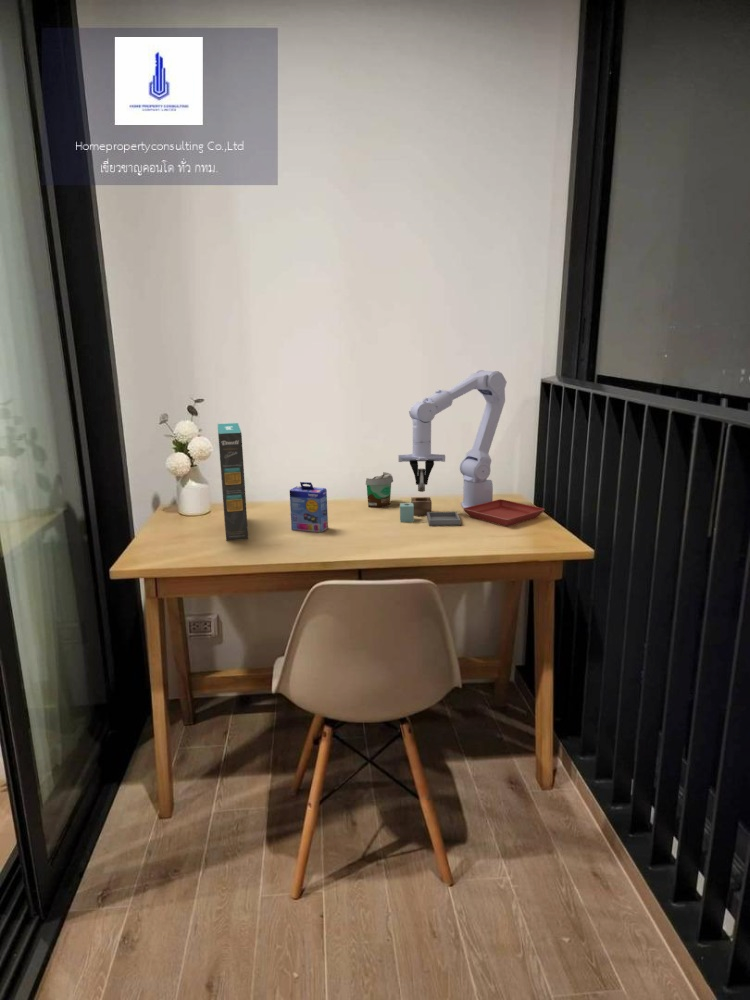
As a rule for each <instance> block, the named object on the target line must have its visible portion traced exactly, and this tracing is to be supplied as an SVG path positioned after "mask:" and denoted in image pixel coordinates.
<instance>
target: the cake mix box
mask: <svg viewBox="0 0 750 1000" xmlns="http://www.w3.org/2000/svg"><path fill="white" fill-rule="evenodd" d="M242 435H243V434H242V430H241V428H240V425H239V423H238V422H236V423H235V422H233V423H230V422H229V423H217V436H218V438H217V439H218V450H219V461H220V462H219V463H220V477H221V491H222V507H223V517H224V519H223V520H224V528H225V529H224V530H225V541H227V542H228V541H239V540H248V539H249V529H248V517H247V516H248V515H247V513H248V512H247V499H246V486H245V485H246V484H245V483H246V482H245V469H244V468H245V467H244V454H243V453H244V452H243V451H244V449H243V438H242V437H243V436H242Z"/></svg>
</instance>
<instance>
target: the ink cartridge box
mask: <svg viewBox="0 0 750 1000" xmlns="http://www.w3.org/2000/svg"><path fill="white" fill-rule="evenodd" d="M299 483H300V486H295V487H293V488H291V489H289V505H290V506H289V507H290V525H291V526H290V527H291V530H292V531H302V532H303V531H304V532H312V533H322V532H324V531H325V530H327V529H328V528H329V520H328V519H329V517H328V516H329V515H328V514H329V513H328V494H327V488H325V487H314V485H313V484H312V482H307V481H305V482H304V481H300V482H299Z"/></svg>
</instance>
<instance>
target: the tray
mask: <svg viewBox="0 0 750 1000" xmlns="http://www.w3.org/2000/svg"><path fill="white" fill-rule="evenodd" d="M426 519H427V522H428V525H429V527H445V526H446V527H451V526H452V527H457V526H458V527H460V526H461V522H462V521H461V518H460V516H459V513H458V511H432V512H427V516H426Z"/></svg>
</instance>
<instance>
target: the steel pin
mask: <svg viewBox="0 0 750 1000" xmlns="http://www.w3.org/2000/svg"><path fill="white" fill-rule="evenodd" d="M425 491H426V485H425V468H418V485H417V492H420V493H423V492H425Z"/></svg>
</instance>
